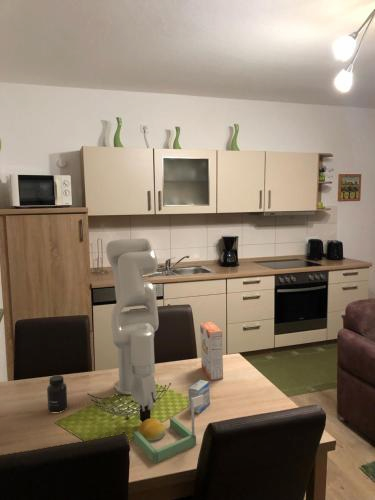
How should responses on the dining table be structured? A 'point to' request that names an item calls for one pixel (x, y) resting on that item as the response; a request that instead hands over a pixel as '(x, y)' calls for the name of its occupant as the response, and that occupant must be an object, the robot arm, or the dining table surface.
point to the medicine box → (200, 389)
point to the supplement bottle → (57, 394)
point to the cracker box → (211, 350)
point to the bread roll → (152, 429)
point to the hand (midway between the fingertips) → (145, 419)
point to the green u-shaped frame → (177, 446)
